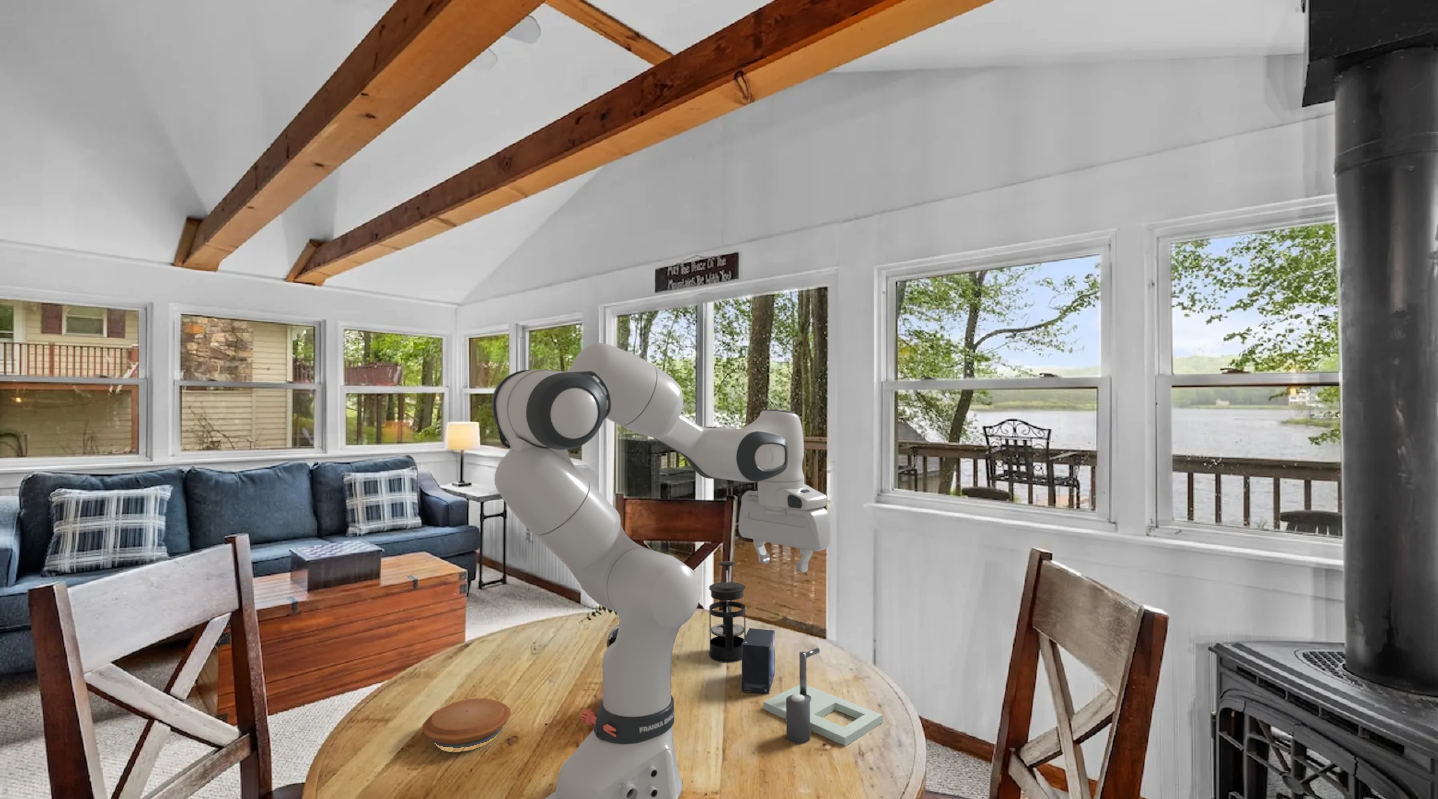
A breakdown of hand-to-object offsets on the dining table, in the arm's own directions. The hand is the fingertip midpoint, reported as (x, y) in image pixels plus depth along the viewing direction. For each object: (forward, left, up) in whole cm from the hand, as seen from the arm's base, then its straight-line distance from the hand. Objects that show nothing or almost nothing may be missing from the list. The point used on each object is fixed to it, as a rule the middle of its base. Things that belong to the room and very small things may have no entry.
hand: (782, 567), depth 123 cm
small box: (+12, +18, -31) cm, 38 cm away
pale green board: (+10, -1, -31) cm, 33 cm away
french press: (+18, +34, -31) cm, 49 cm away
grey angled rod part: (+12, +4, -30) cm, 32 cm away
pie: (-44, +41, -32) cm, 68 cm away
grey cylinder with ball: (0, -3, -31) cm, 31 cm away
